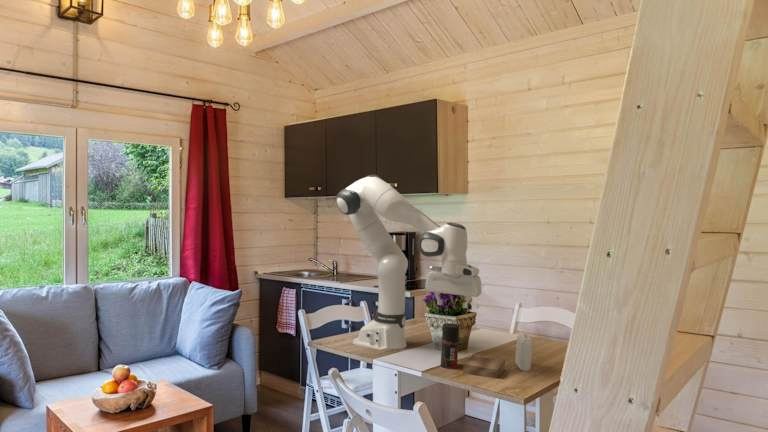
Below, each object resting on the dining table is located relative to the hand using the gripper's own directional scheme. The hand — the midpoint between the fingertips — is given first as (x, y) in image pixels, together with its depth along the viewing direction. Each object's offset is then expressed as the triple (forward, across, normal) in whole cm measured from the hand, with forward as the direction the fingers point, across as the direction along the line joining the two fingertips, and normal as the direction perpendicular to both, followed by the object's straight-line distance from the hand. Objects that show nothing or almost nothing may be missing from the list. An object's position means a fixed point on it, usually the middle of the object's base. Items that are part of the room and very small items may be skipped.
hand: (452, 306), depth 210 cm
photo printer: (+22, +24, +14) cm, 36 cm away
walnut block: (+22, +13, 0) cm, 26 cm away
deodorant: (+22, 0, 0) cm, 22 cm away
